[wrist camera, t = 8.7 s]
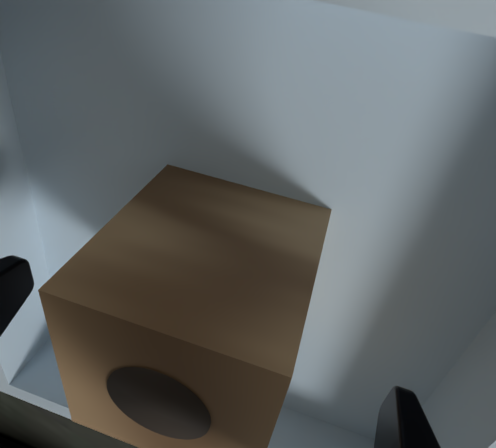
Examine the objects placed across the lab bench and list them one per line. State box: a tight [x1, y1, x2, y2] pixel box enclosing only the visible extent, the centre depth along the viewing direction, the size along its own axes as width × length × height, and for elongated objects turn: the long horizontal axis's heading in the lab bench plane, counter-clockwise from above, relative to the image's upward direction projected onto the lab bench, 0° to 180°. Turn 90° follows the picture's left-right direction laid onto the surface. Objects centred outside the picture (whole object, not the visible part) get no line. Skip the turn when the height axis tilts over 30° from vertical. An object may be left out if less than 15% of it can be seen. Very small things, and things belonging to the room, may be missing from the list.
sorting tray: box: [0, 0, 496, 448], centre depth 11 cm, size 16×16×4 cm
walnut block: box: [38, 164, 332, 448], centre depth 10 cm, size 4×4×5 cm
